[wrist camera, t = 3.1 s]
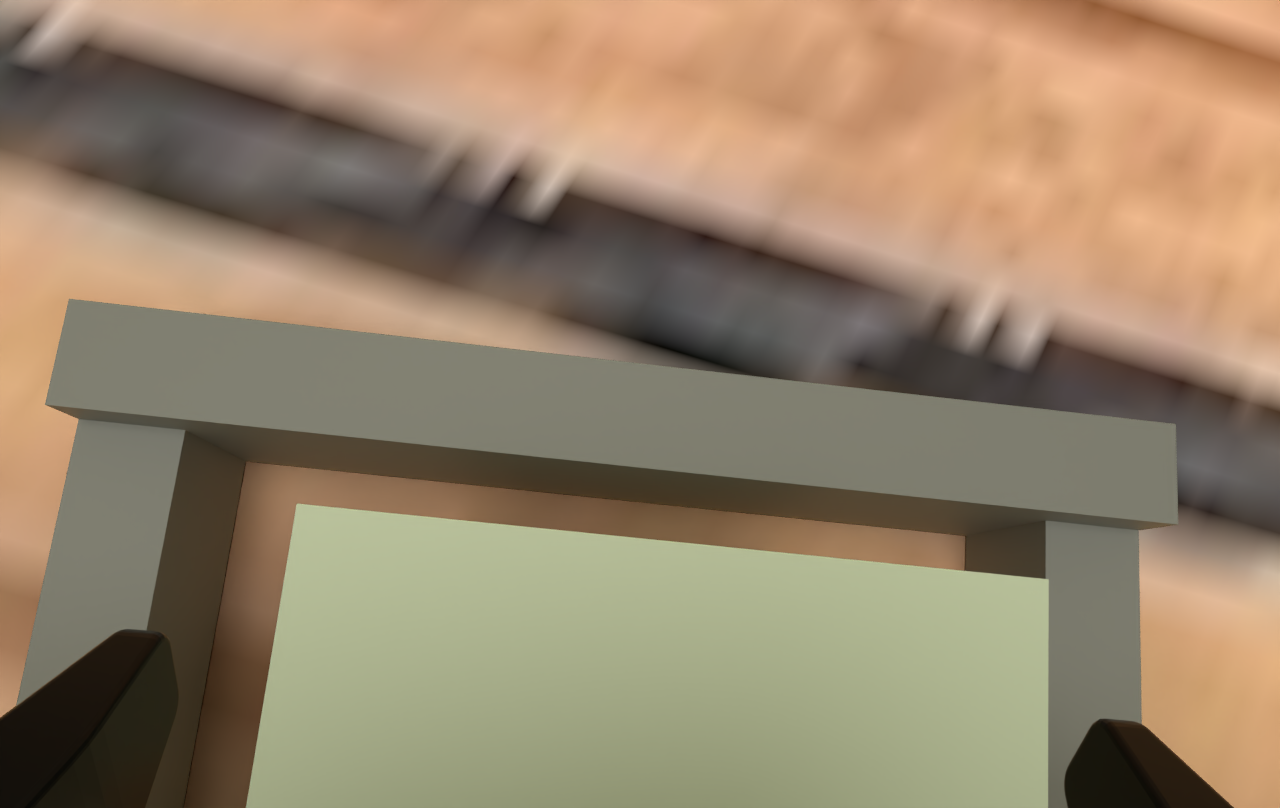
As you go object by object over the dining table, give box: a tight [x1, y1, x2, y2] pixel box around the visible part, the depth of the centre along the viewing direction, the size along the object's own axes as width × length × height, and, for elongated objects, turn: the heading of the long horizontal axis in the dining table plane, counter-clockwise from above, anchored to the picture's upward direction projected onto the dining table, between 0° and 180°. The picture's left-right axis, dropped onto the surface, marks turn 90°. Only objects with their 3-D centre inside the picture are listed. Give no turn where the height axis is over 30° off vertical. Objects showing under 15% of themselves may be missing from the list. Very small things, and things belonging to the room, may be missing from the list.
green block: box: [246, 504, 1049, 808], centre depth 12 cm, size 3×6×10 cm, turn 85°
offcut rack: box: [16, 299, 1178, 808], centre depth 15 cm, size 11×16×4 cm
